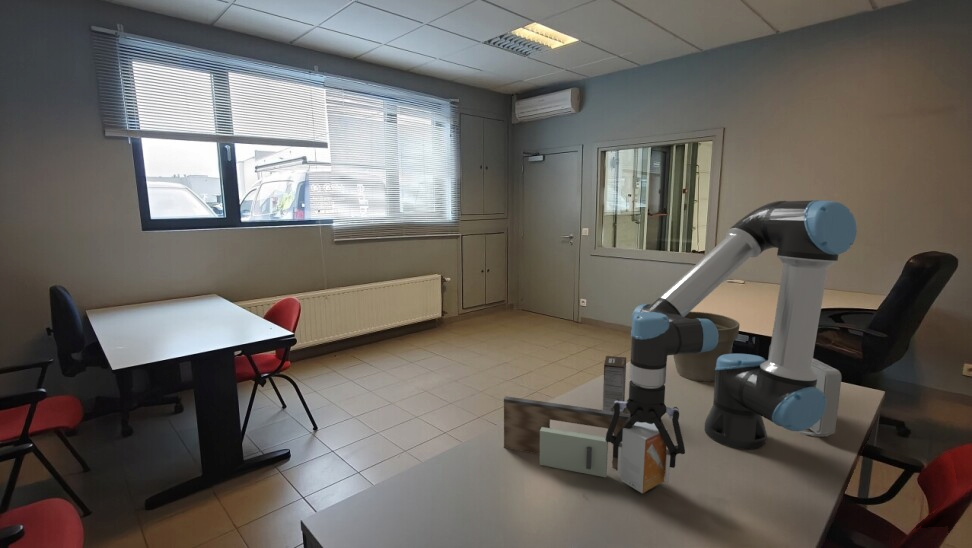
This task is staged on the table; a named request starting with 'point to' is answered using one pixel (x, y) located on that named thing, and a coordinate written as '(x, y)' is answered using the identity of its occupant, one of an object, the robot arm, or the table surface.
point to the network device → (831, 388)
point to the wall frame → (548, 421)
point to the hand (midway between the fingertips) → (642, 474)
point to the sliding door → (573, 451)
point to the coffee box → (614, 381)
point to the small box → (643, 457)
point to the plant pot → (705, 362)
